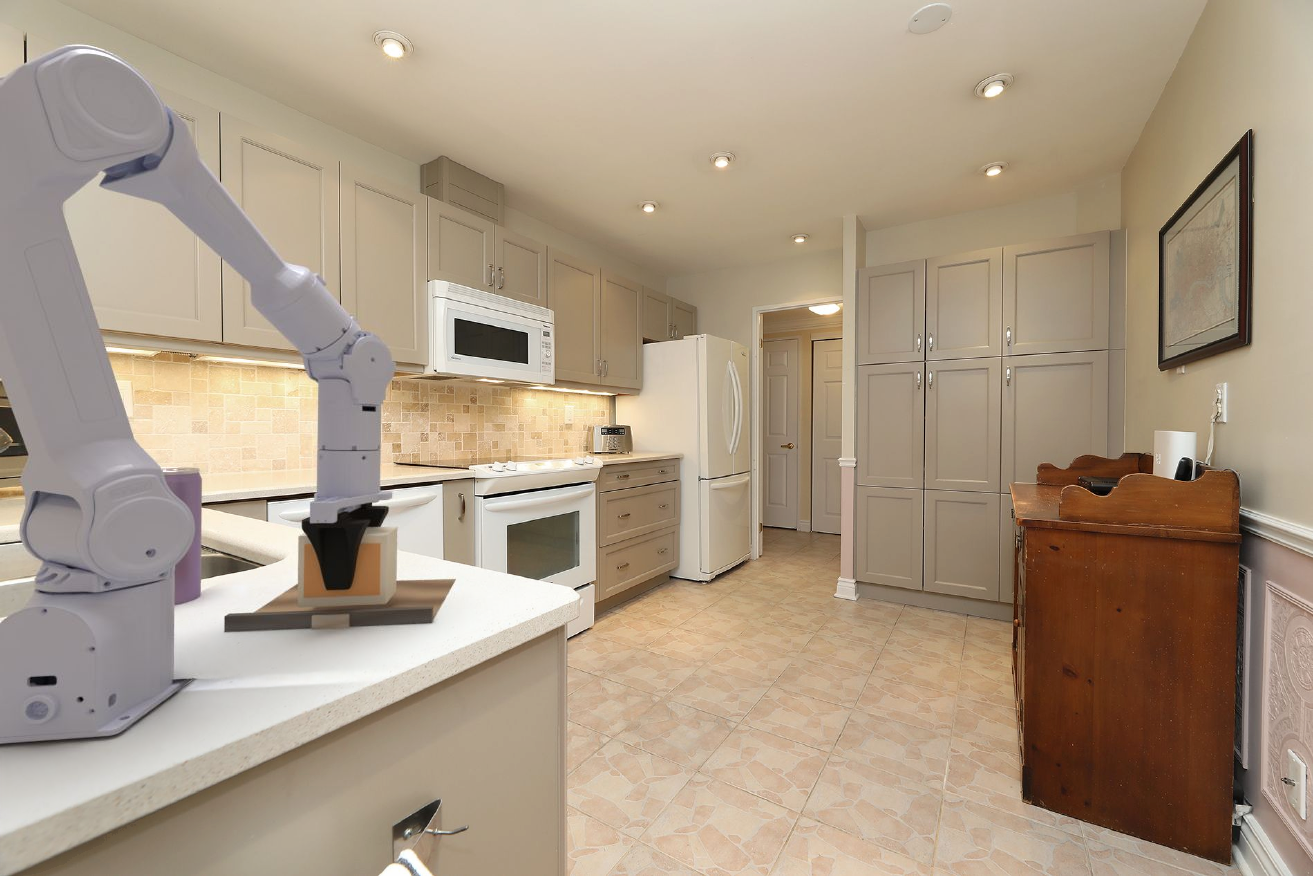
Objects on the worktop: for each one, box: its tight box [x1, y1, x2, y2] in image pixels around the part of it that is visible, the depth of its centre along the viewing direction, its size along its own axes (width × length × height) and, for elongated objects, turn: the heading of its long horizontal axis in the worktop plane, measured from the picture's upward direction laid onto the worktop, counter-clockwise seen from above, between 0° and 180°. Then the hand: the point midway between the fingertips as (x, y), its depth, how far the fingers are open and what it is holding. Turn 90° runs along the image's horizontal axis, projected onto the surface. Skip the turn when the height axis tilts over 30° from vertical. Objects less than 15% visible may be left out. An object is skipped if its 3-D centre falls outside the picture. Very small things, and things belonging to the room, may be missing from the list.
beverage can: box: [161, 466, 203, 606], centre depth 60 cm, size 6×6×15 cm
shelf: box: [223, 578, 457, 633], centre depth 61 cm, size 16×18×2 cm
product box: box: [297, 526, 398, 607], centre depth 58 cm, size 5×8×7 cm, turn 103°
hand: (347, 581), depth 58 cm, fingers closed on product box, 5 cm apart
